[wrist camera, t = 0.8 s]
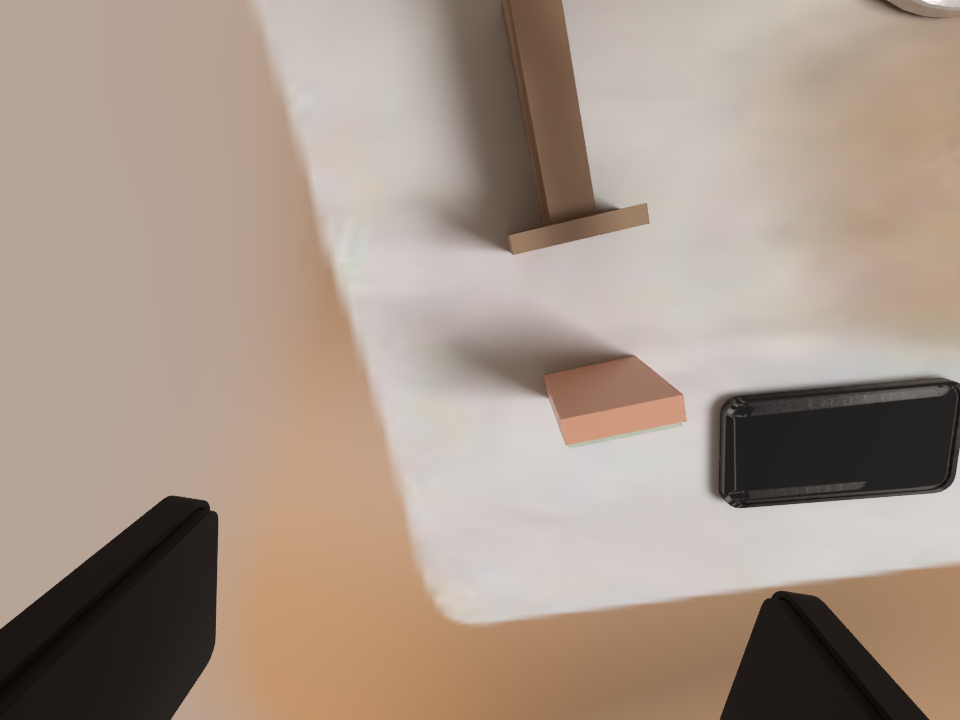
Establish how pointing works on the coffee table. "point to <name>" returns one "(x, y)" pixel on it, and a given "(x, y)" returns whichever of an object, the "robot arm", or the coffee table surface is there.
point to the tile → (612, 401)
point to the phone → (839, 443)
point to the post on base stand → (555, 130)
